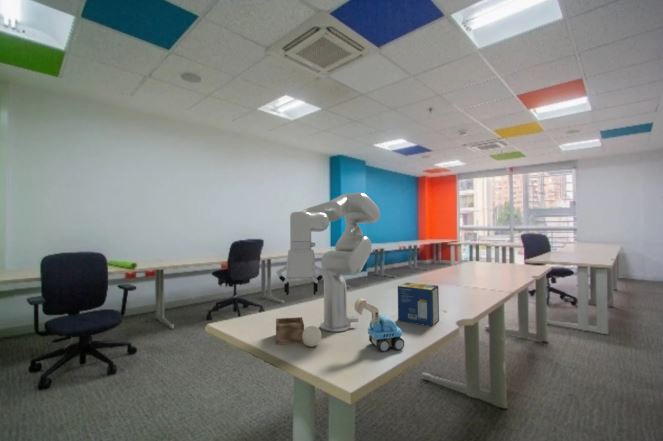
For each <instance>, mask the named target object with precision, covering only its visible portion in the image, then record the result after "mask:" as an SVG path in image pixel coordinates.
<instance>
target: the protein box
mask: <svg viewBox="0 0 663 441" xmlns="http://www.w3.org/2000/svg"><path fill="white" fill-rule="evenodd" d="M439 299H440V298H439V285H435V284H434V285H433V284H422V283H417V282H416V283H413V282H405V283H402V284H399V285H397V321H400V322H405V323H410V322H412V323H411V324H415V323H417V324H416V325H421V324H424V325H423V326H426V325H431V326H430V327H433V326H434V325H435V324H437V323H438V322H439V321H440V308H439V307H440V303H439V301H440V300H439ZM437 321H438V322H437ZM433 324H434V325H433ZM432 325H433V326H432Z"/></svg>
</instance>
